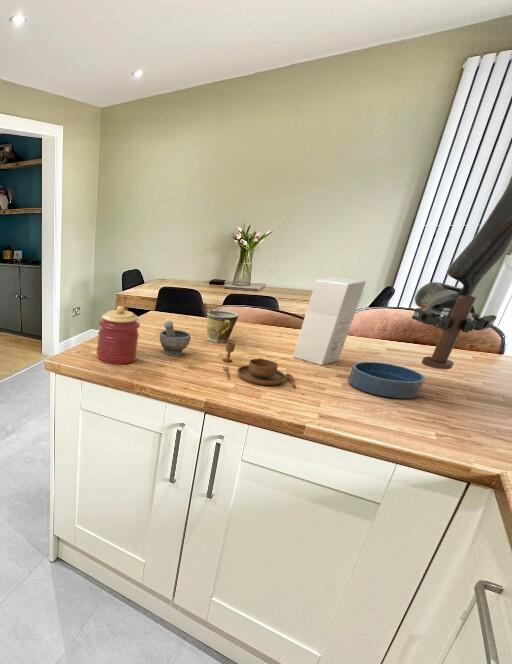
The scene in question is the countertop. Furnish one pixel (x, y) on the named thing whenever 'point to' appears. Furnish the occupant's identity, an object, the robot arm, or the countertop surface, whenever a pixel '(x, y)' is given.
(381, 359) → the countertop surface
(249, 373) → the place setting
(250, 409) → the countertop surface
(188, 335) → the mortar and pestle
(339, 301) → the tall white carton
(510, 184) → the robot arm
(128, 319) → the kitchen canister
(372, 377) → the bowl
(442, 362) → the brown post with base
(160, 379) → the countertop surface
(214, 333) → the ceramic cup
